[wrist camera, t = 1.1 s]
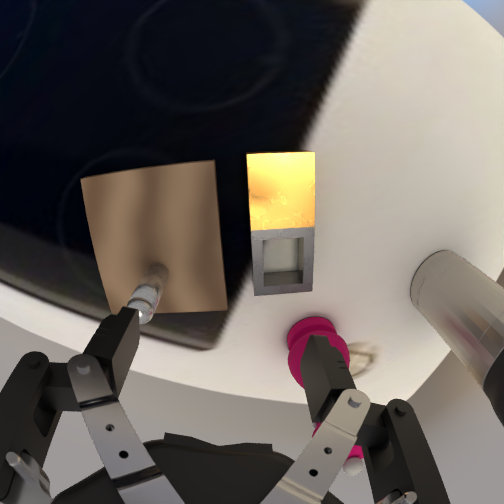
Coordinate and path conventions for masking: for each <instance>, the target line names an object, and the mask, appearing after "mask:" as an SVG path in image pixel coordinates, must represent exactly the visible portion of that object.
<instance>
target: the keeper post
mask: <svg viewBox="0 0 504 504" xmlns="http://www.w3.org/2000/svg"><path fill="white" fill-rule="evenodd" d="M168 278H169V271H168V269H167V267H166V266H165V265H163V264H161V263H152V264H150V265H149V266H148V268H147V270H146V271H145V273H144V275H143V277H142V278H141V280H140V282H139V283H138V285H137V287H136V289H135V290H134V292H133V294H132V296H131V298H130V299H129V301H128V303H127V307H130V308H135V309H138V310H139V324H144V323H147V322H149V321H150V320H151V319H152V317H153V315H154V313H155V310H156V308H157V305H158V303H159V300H160V298H161V295H162V293H163V290H164V288H165V285H166V283H167V281H168Z"/></svg>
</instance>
